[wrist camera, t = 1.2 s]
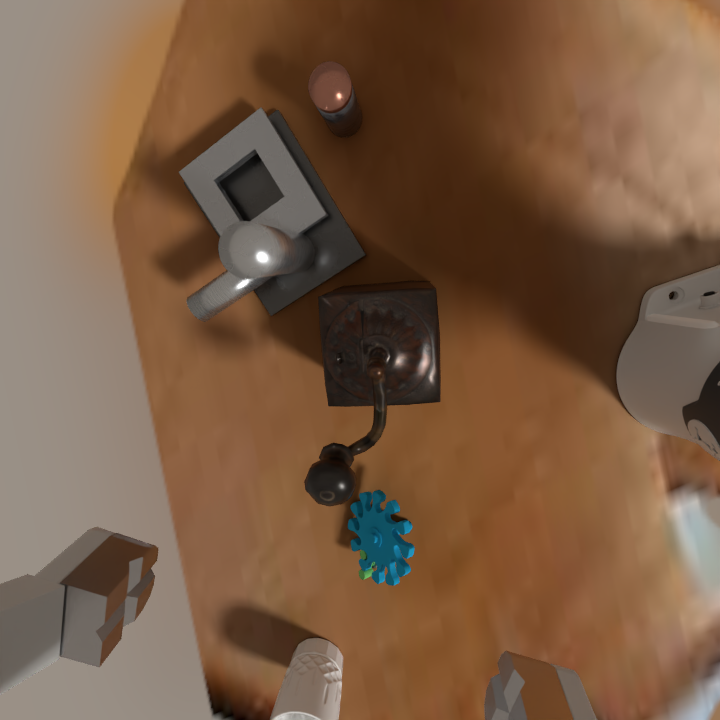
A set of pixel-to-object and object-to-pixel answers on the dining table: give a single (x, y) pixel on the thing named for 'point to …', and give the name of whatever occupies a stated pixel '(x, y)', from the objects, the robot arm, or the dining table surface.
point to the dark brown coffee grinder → (373, 366)
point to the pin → (335, 98)
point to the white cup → (311, 683)
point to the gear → (380, 538)
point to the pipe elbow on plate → (266, 218)
